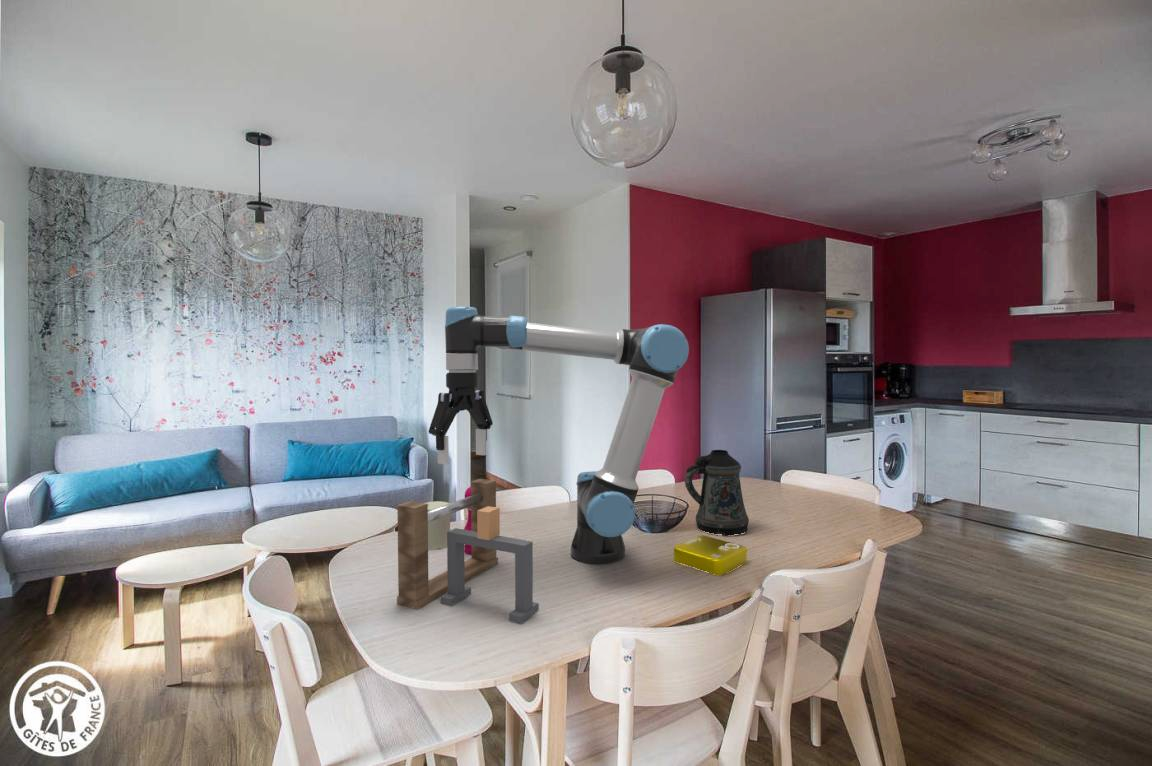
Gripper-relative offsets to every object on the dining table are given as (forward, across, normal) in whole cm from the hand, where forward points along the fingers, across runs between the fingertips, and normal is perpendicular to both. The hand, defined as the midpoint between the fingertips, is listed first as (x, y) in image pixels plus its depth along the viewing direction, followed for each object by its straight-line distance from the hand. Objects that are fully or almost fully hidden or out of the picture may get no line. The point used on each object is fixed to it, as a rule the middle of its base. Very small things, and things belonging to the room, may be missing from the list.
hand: (462, 459), depth 132 cm
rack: (+30, +2, -2) cm, 30 cm away
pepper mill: (+30, -17, -11) cm, 36 cm away
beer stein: (+30, -71, +44) cm, 89 cm away
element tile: (+31, -42, +49) cm, 71 cm away
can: (+30, -16, -25) cm, 42 cm away
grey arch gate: (+30, +8, +14) cm, 34 cm away
